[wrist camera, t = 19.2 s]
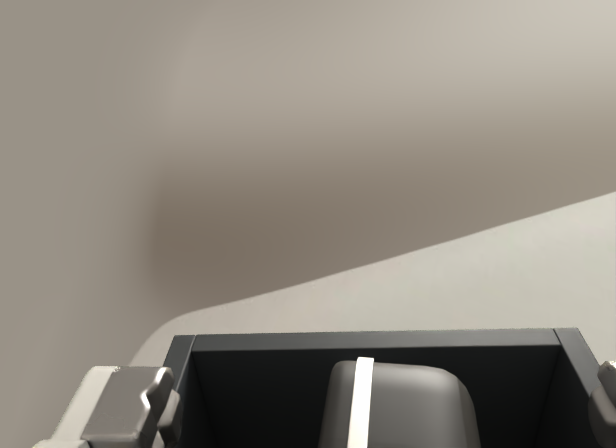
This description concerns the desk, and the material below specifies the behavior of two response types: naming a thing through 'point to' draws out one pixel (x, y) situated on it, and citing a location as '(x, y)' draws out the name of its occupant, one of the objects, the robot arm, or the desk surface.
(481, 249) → the desk surface
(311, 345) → the trash bin
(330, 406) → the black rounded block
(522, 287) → the desk surface
